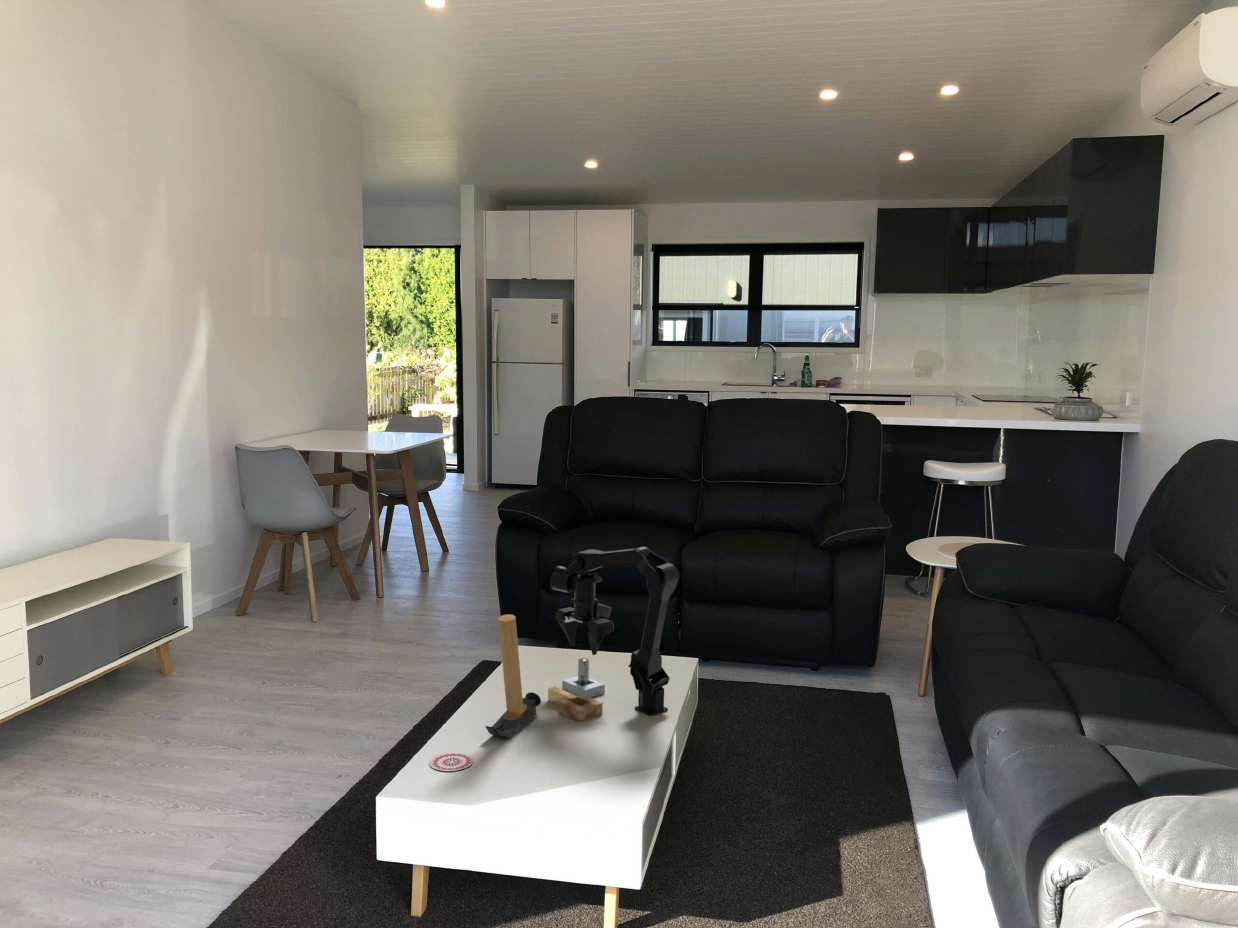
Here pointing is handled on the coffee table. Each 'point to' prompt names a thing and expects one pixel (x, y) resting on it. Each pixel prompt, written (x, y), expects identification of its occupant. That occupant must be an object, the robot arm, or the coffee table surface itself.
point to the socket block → (581, 708)
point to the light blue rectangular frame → (583, 687)
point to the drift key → (560, 695)
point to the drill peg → (583, 671)
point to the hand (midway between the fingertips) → (583, 650)
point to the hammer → (513, 685)
